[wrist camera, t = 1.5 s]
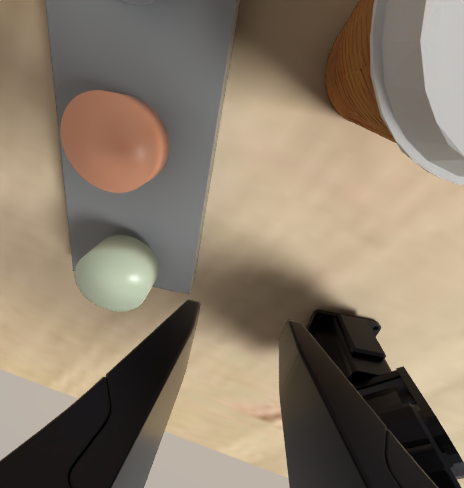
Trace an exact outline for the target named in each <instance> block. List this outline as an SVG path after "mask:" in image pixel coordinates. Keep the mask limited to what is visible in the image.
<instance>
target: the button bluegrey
mask: <svg viewBox="0 0 464 488" xmlns="http://www.w3.org/2000/svg"><path fill="white" fill-rule="evenodd" d="M122 1H124V2H127V3H130V4H136V5H145V4H150V3H153V2H155V1H157V0H122Z"/></svg>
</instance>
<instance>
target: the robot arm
mask: <svg viewBox="0 0 464 488" xmlns="http://www.w3.org/2000/svg"><path fill="white" fill-rule="evenodd" d="M199 310H200V302H198V301H194V300H187V301H186V302H185V303H184V304H183V305H182V306H180V307H179V308H178V309H177V310H176V311H175V312H174V313H173V314H172V315H171V316H170V317H168V318H167V319H166V320H165V321H164V322H163V323H162V324H161V325H160V326H159V327H157V328H156V329H155V330H154V331H153V332H152V333H151V334H150V335H149V336H148V337H147V338H145V339H144V340H143V341H142V342H141V343H140V344H139V345H138V346H137V347H136V348H135V349H133V350H132V351H131V352H130V353H129V354H128V355H127V356H126V357H125V358H124V359H122V360H121V361H120V362H119V363H118V364H117V365H116V366H115V367H114V368H113V369H112V370H110V371H109V372H108V373H107V374H106V377H103V378H101V379H100V380H99V381H98V382H97V383H96V384H95V385H94V386H93V387H92V388H91V389H90V390H88V391H87V392H86V393H85V394H84V395H83V396H81V397H80V398H79V399H78V400H77V401H76V402H75V403H73V404H72V405H71V406H70V407H69V408H68V409H67V410H65V411H64V412H63V413H61V414H60V415H59V416H58V417H56V418H55V419H54V420H52V421H51V422H50V423H49V424H47V425H46V426H45V427H44V428H43V429H41V430H40V431H39V432H37V433H36V434H35V435H33V436H32V437H31V438H30V439H28V440H27V441H25V442H24V443H23V444H22V445H20V446H19V447H18V448H17V449H15V450H14V451H12V452H11V453H10V454H8V455H7V456H6V457H5V458H3V459H2V460H1V461H0V488H144V486H145V483H146V480H147V478H148V475H149V472H150V469H151V466H152V464H153V461H154V458H155V455H156V453H157V450H158V447H159V444H160V442H161V439H162V436H163V433H164V431H165V428H166V425H167V422H168V420H169V417H170V414H171V411H172V409H173V406H174V403H175V400H176V398H177V395H178V392H179V389H180V386H181V384H182V381H183V378H184V375H185V371H186V368H187V364H188V359H189V355H190V351H191V347H192V342H193V338H194V334H195V330H196V325H197V320H198V315H199ZM318 315H320V316H318ZM380 329H381V326H380V325H379V323H378V322H376V321H371V320H366V319H362V318H357V317H352V316H347V315H342V314H337V313H332V312H327V311H322V310H317V311H315V312H314V313H313V315H312V317H311V319H310V322H309V324H308V326H307V328H305V327H304V325H303V324H302V323H301V322H298V321H293V320H288V321H287V322H286V324H285V327H284V329H283V332H282V334H281V337H280V340H279V394H280V405H281V414H282V423H283V432H284V440H285V449H286V458H287V467H288V476H289V484H290V488H461V486H460V485H459V483H458V481H457V479H461V478H464V462H463V461H462V459H461V457H460V455H459V454H458V452H457V450H456V449H455V447H454V445H453V444H452V442H451V440H450V439H449V437H448V435H447V434H446V432H445V430H444V429H443V427H442V425H441V424H440V422H439V421H438V419H437V417H436V416H435V414H434V413H433V411H432V410H431V408H430V406H429V405H428V403H427V402H426V400H425V399H424V397H423V396H422V394H421V393H420V391H419V390H418V388H417V386H416V385H415V383H414V382H413V380H412V379H411V377H410V376H409V374H408V373H407V371H406V370H405V368H404V366H403V367H400V368H397V370H395V371H391V369H390V367H389V365H388V364H387V362H386V360H385V357H386V355H385V353H384V351H383V349H382V348H381V346H380V344H379V342H378V341H377V339H376V335H377V334H378V332H379V331H380Z"/></svg>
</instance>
